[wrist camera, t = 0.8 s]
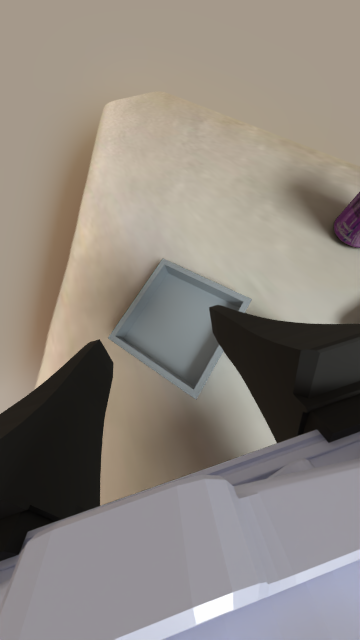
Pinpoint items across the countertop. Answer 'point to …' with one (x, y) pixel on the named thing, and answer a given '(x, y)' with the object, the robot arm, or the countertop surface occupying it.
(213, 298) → the grey tray
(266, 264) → the countertop surface
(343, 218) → the beverage can
